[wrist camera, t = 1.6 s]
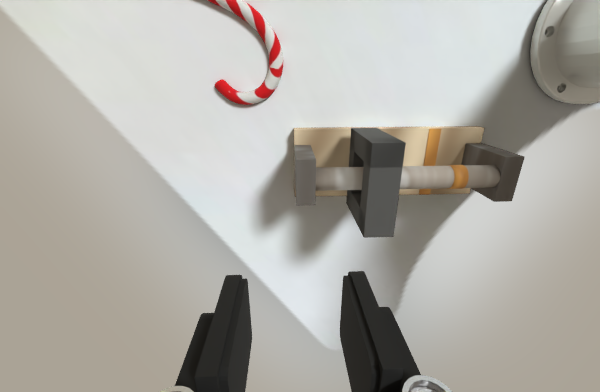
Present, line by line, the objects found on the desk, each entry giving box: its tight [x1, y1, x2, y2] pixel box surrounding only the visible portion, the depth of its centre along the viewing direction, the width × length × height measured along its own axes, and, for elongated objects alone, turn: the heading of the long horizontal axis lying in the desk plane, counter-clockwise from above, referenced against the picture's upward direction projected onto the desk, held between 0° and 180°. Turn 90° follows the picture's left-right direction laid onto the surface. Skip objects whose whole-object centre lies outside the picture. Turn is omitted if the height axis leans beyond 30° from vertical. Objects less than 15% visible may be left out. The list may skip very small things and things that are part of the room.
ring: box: [346, 128, 406, 237], centre depth 25 cm, size 2×8×7 cm, turn 0°
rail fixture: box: [294, 126, 524, 205], centre depth 28 cm, size 19×7×7 cm, turn 90°
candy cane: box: [207, 0, 283, 105], centre depth 26 cm, size 8×1×15 cm
